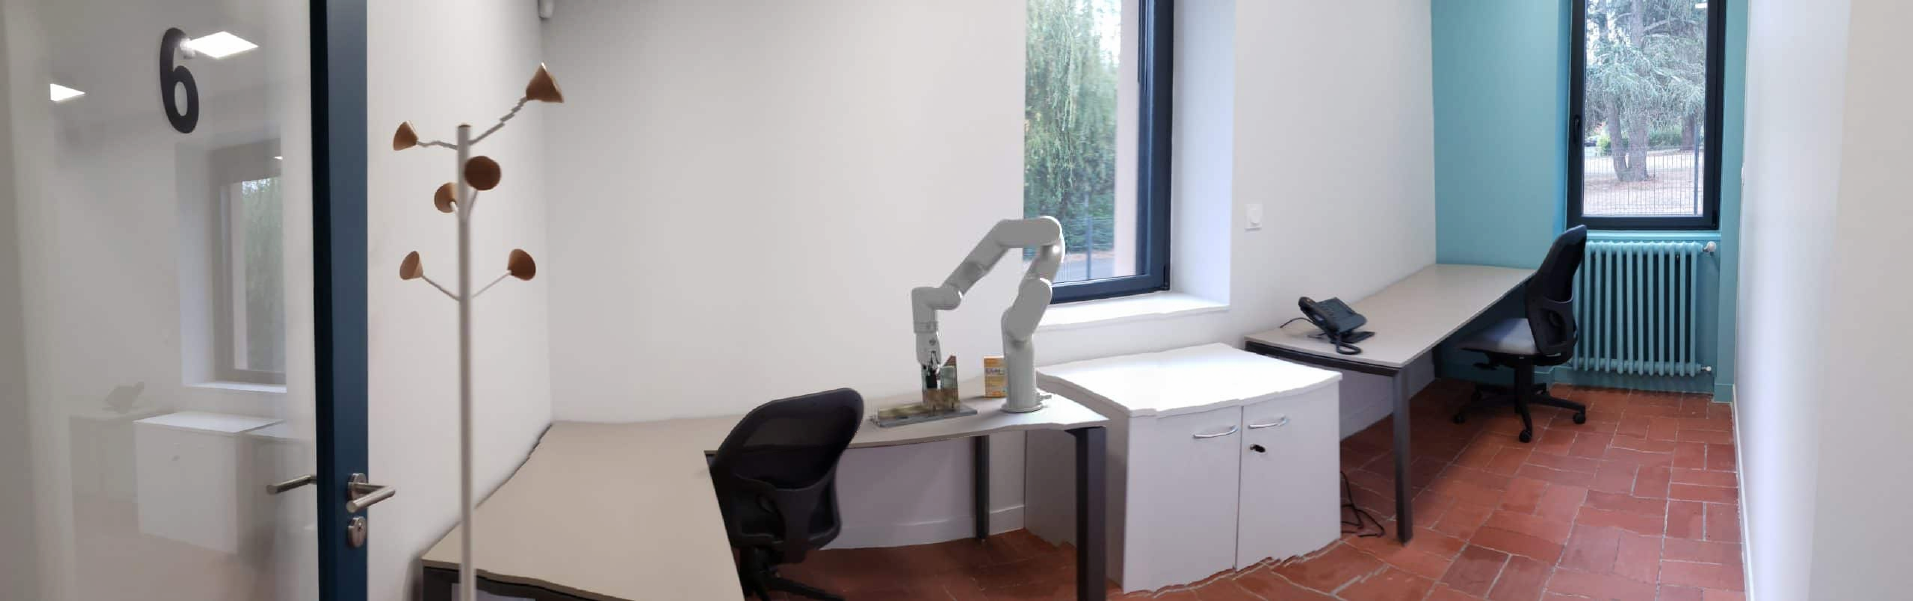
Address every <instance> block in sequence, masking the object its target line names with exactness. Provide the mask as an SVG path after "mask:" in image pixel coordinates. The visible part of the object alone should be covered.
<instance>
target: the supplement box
mask: <svg viewBox="0 0 1913 601" xmlns="http://www.w3.org/2000/svg"><path fill="white" fill-rule="evenodd" d="M983 370H984V371H983V372H984V374H983V375H984V392H985V398H1006V391H1005V374H1004V355H984V357H983Z"/></svg>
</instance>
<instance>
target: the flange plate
mask: <svg viewBox="0 0 1913 601" xmlns="http://www.w3.org/2000/svg"><path fill="white" fill-rule="evenodd" d="M970 414H971V415H977V414H978V409H975V408H974V407H971V406H968V405H967V404H964V403H963V402H960V406H959V407H954V409H952V408H945V409H938V410H936V411H933V410H931V411H924V412H918V413H911V414H904V415H897V416H890V417H884V418H880V417H878V414H872V415H868V418H869V417H870V418H871V419H872V420H874V421H876V422H877V423H879V424H880V425H881V426H891V427H898V426H903V425H904V424H905V425H910V424H917V423H918V424H919V423H923V422H929V421H930V422H931V421H937V420H943V419H949V418H950V419H951V418H957V417H964V416H970ZM872 420H871V421H872ZM877 423H876V424H877ZM880 425H879V426H880ZM881 426H880V427H881Z"/></svg>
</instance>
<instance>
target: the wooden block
mask: <svg viewBox="0 0 1913 601" xmlns="http://www.w3.org/2000/svg"><path fill="white" fill-rule="evenodd" d="M931 365H932V363H931ZM945 366H954V367H955V376H956V386H955V387H957V398H958V399H960V398H959V384H958V366H957V356H955V355H952V354H951V355H950V356H949V357H948V359H947V360H946V361H945V362H944V364H943V365H942V367H945ZM931 368H932V367H931ZM937 381H940V370H939V371H938V372H937ZM937 390H938V392H939V401H942V400H941V390H940V388H938V389H937Z"/></svg>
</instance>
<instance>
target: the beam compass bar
mask: <svg viewBox="0 0 1913 601" xmlns="http://www.w3.org/2000/svg"><path fill="white" fill-rule="evenodd" d="M938 369H939V371H940V380H939V381H940V385H939V386H940V387H939V389H940V390H941V400H942V401H939V405H935V406H936V410H938V409H945V408H952V409H954V407H959V406H960V403H961V400H960V398H957V387H955V386H956V376H955V367H954V366H945V367H943V366H939V367H938ZM931 410H933V406H929V405H927V404H925V403H923V402H922V403H918V404H911V405H904V406H903V405H902V406H897V407H890V408H888V407H887V408H882V409H877V415H878V417H880V418H884V417H890V416H897V415H904V414H911V413H918V412H924V411H931Z"/></svg>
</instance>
